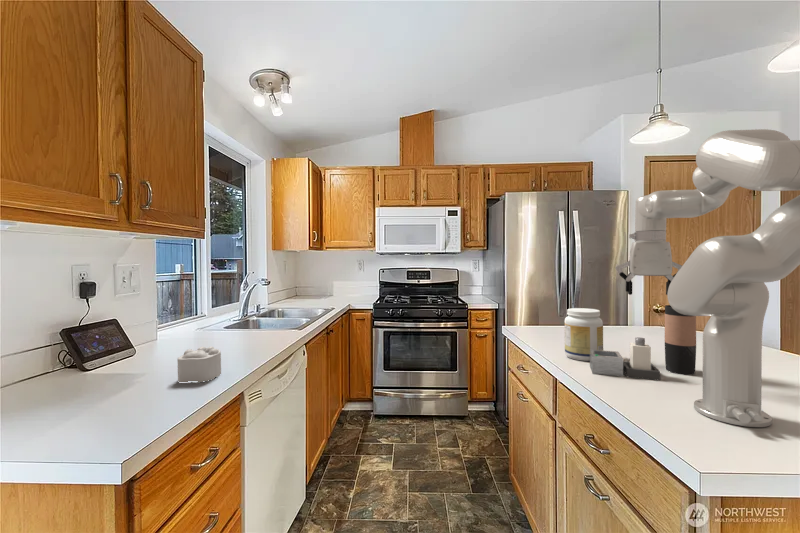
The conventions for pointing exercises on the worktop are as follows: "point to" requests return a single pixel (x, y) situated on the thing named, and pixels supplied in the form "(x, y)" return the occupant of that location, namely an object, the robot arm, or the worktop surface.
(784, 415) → the worktop surface
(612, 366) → the port
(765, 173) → the robot arm
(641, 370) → the dark grey tray
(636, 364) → the plug
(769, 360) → the worktop surface
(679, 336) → the travel mug
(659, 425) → the worktop surface
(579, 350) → the supplement tub
